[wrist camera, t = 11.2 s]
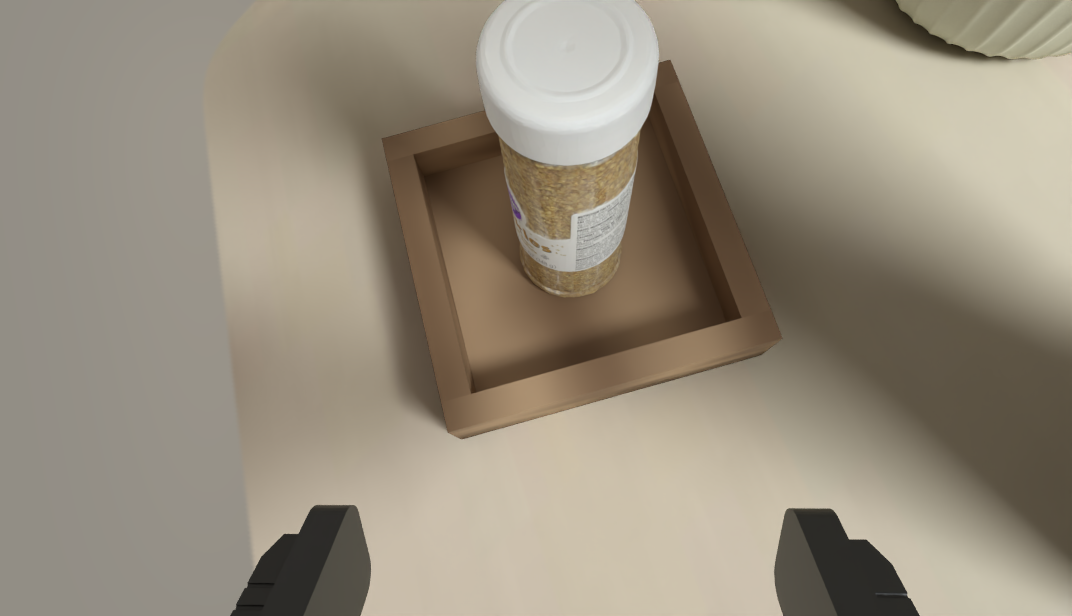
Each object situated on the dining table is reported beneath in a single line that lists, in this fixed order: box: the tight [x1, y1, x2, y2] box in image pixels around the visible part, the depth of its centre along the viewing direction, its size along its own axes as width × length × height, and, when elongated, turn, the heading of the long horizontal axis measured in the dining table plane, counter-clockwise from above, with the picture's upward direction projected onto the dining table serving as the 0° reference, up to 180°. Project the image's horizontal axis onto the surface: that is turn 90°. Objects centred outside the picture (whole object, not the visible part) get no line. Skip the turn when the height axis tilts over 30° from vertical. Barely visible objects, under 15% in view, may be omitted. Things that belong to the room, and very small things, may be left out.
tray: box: [382, 60, 782, 439], centre depth 28 cm, size 13×13×3 cm
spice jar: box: [476, 0, 659, 297], centre depth 22 cm, size 5×5×13 cm
